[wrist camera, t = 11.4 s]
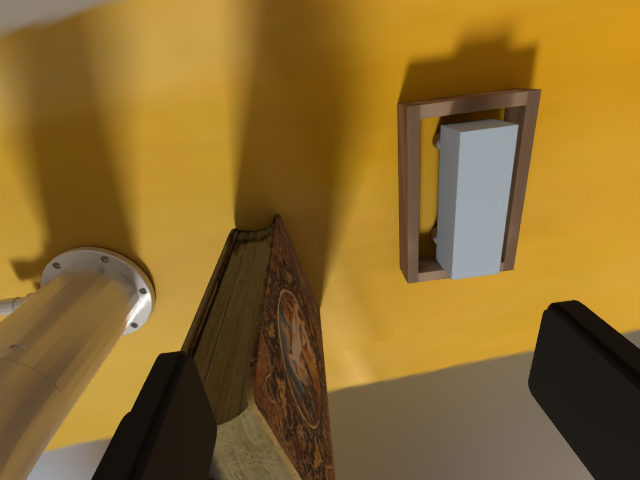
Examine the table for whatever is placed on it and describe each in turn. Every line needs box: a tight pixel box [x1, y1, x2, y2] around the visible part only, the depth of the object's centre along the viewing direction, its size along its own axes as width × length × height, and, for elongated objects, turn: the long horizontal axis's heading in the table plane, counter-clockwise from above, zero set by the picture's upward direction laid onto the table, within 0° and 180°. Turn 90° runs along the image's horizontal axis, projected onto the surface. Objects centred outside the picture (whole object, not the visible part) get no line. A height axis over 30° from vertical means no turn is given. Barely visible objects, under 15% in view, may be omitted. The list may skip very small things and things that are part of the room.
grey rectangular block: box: [436, 119, 518, 280], centre depth 35 cm, size 15×5×4 cm, turn 7°
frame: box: [397, 88, 541, 283], centre depth 37 cm, size 12×19×4 cm, turn 7°
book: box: [181, 214, 335, 480], centre depth 31 cm, size 16×6×25 cm, turn 18°
